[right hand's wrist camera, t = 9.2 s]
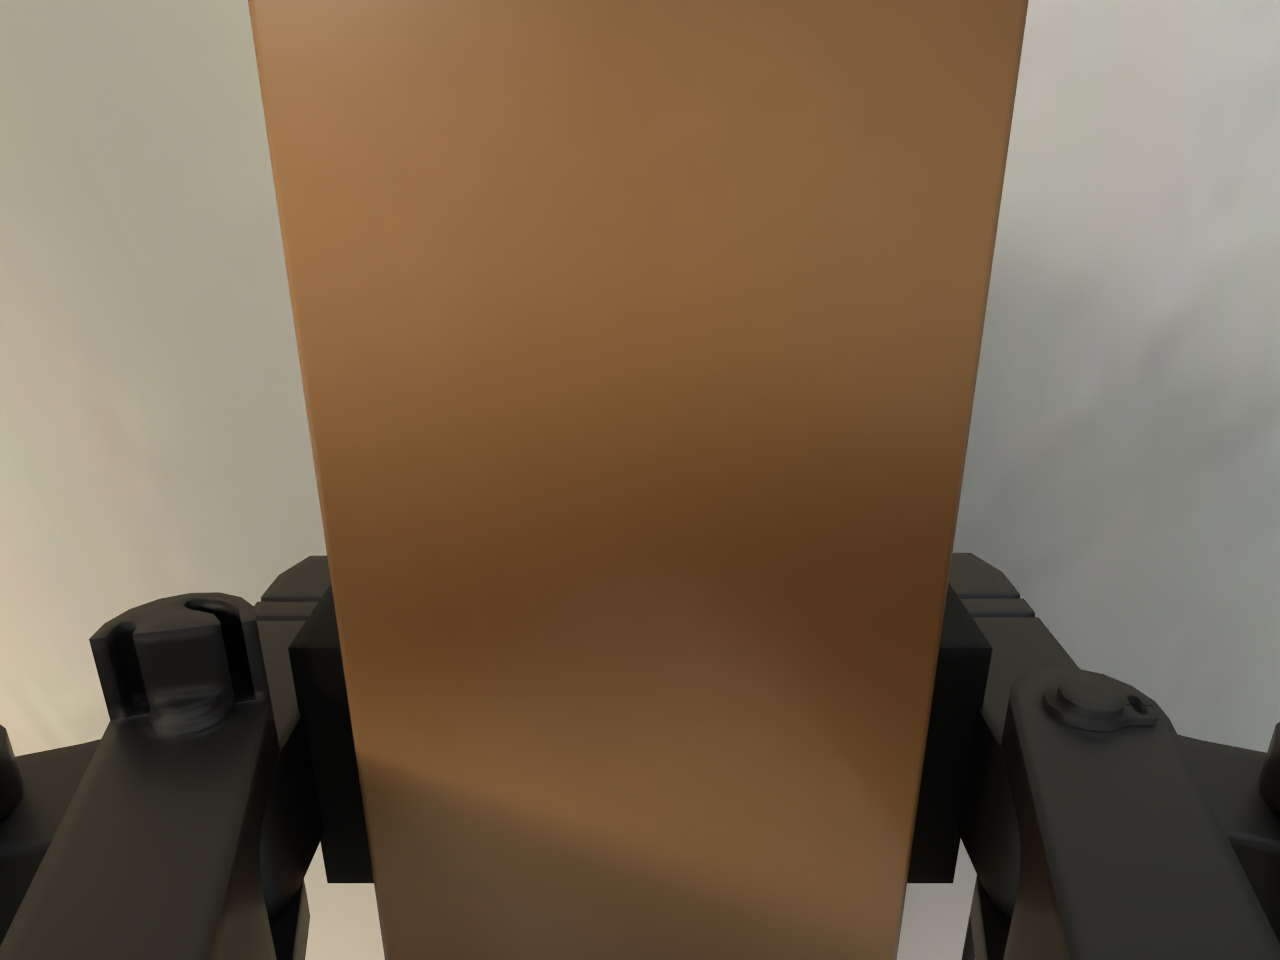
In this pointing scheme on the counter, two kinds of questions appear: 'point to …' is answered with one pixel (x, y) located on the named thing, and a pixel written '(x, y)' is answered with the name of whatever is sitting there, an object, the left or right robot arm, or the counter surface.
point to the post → (639, 446)
